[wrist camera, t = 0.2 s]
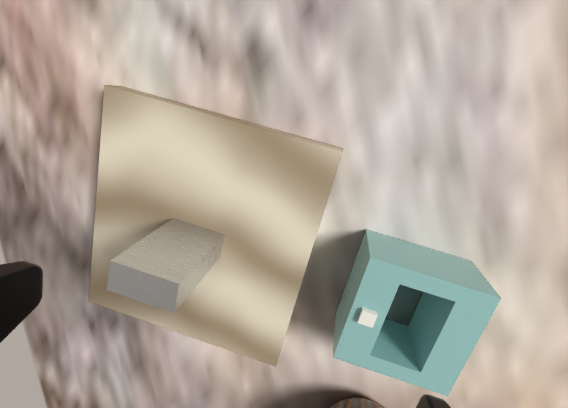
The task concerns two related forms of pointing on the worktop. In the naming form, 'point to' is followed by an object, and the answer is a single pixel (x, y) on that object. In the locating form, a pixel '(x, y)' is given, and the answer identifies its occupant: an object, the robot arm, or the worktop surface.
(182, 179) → the board
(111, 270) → the grey rectangular peg
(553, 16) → the worktop surface
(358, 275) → the teal open cube
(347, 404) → the vase
